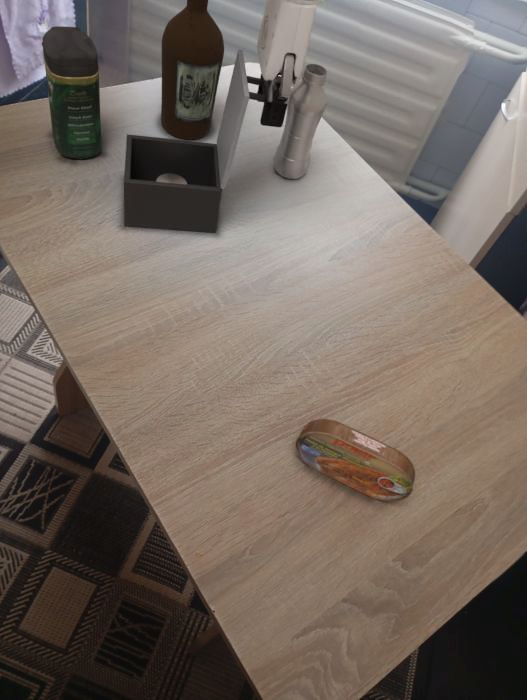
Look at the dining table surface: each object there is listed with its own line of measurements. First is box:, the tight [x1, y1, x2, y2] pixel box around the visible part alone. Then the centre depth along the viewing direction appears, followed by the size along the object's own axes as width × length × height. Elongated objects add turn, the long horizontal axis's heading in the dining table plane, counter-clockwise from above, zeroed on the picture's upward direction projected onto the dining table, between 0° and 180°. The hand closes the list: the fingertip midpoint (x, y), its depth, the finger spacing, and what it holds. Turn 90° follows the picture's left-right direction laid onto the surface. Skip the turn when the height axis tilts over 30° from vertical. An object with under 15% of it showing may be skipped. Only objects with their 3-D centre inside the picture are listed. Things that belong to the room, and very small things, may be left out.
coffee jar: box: [41, 25, 102, 160], centre depth 92 cm, size 10×8×19 cm
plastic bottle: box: [273, 63, 328, 180], centre depth 98 cm, size 6×7×20 cm
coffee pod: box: [156, 173, 187, 184], centre depth 93 cm, size 5×5×4 cm
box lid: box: [216, 49, 277, 190], centre depth 84 cm, size 15×12×6 cm
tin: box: [295, 418, 416, 502], centre depth 69 cm, size 15×3×8 cm, turn 66°
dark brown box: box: [123, 133, 223, 234], centre depth 91 cm, size 15×12×9 cm
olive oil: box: [160, 0, 225, 141], centre depth 99 cm, size 11×11×25 cm
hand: (269, 112), depth 82 cm, fingers closed on box lid, 5 cm apart
